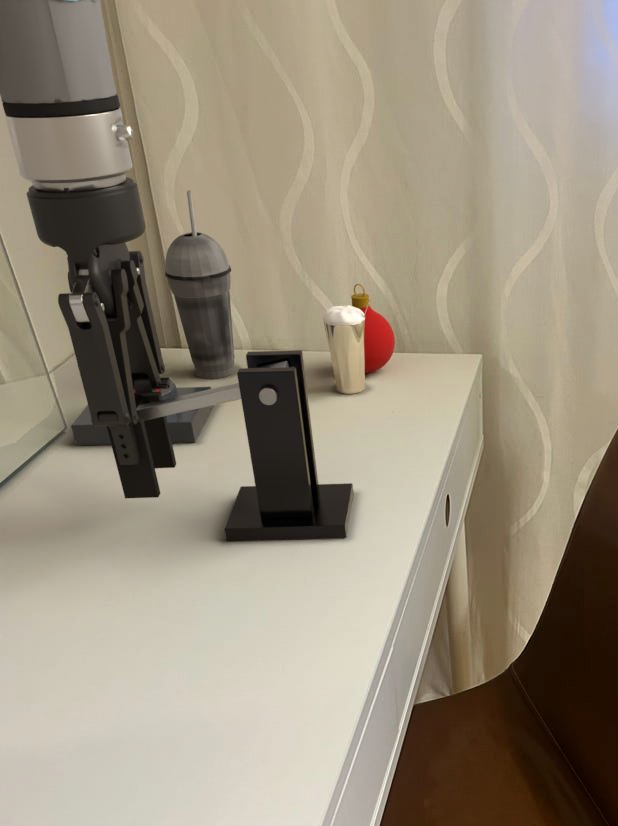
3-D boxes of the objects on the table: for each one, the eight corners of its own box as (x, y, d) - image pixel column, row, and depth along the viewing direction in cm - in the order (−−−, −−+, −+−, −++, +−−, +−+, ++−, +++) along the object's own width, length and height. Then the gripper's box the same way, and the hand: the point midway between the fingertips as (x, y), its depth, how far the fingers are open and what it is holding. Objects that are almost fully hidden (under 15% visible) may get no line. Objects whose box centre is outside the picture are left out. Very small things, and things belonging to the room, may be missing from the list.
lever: (119, 443, 77) (106, 415, 76) (136, 419, 81) (124, 392, 80) (290, 405, 76) (280, 375, 74) (298, 382, 80) (289, 354, 79)
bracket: (226, 541, 81) (195, 380, 73) (242, 498, 87) (216, 346, 80) (346, 537, 81) (328, 376, 73) (353, 495, 88) (338, 343, 80)
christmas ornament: (324, 374, 114) (314, 286, 108) (363, 357, 119) (356, 272, 113) (369, 385, 111) (362, 296, 105) (408, 367, 115) (403, 281, 110)
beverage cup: (229, 357, 119) (199, 180, 108) (258, 372, 115) (230, 189, 103) (173, 371, 116) (137, 189, 104) (201, 387, 111) (166, 198, 100)
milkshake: (372, 397, 107) (364, 305, 102) (325, 395, 108) (315, 304, 103) (382, 383, 111) (375, 293, 105) (337, 381, 112) (327, 292, 106)
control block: (76, 445, 98) (65, 408, 96) (104, 408, 106) (95, 373, 104) (195, 442, 98) (187, 404, 96) (214, 405, 106) (208, 370, 104)
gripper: (95, 203, 61) (171, 530, 74) (164, 157, 76) (216, 436, 89) (-24, 207, 61) (73, 533, 74) (68, 160, 76) (135, 439, 89)
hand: (151, 480), depth 82 cm, fingers closed on lever, 5 cm apart
